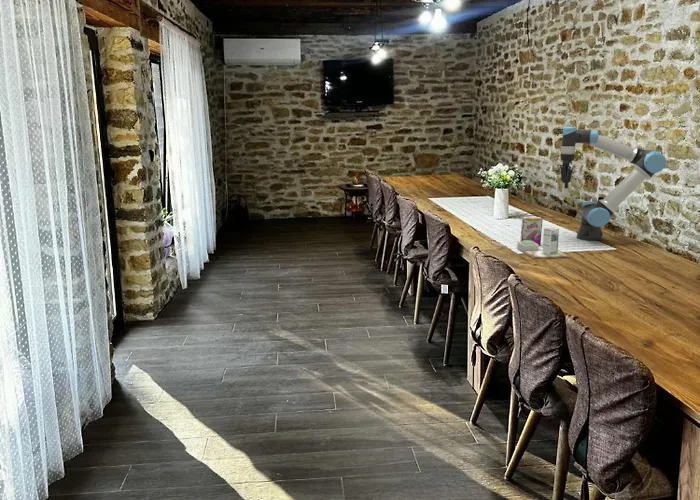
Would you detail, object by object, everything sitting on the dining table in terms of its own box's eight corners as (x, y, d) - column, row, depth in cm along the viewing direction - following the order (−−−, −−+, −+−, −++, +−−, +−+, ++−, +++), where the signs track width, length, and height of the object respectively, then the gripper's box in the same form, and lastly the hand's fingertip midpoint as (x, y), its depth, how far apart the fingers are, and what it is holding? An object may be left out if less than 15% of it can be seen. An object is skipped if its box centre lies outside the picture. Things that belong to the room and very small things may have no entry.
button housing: (532, 248, 352) (532, 241, 351) (538, 251, 343) (538, 244, 342) (517, 248, 351) (517, 241, 350) (522, 252, 342) (523, 245, 341)
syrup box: (549, 255, 331) (551, 229, 327) (541, 253, 336) (543, 227, 332) (557, 254, 333) (559, 228, 330) (549, 252, 338) (551, 226, 335)
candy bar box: (521, 245, 359) (523, 218, 355) (520, 243, 364) (521, 216, 360) (540, 245, 358) (542, 218, 354) (539, 243, 363) (541, 216, 359)
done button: (530, 246, 350) (531, 239, 349) (534, 249, 344) (535, 242, 343) (520, 247, 349) (521, 240, 349) (524, 249, 344) (525, 242, 343)
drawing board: (558, 251, 343) (558, 249, 343) (570, 258, 329) (570, 256, 328) (522, 252, 341) (522, 250, 341) (533, 259, 327) (533, 257, 327)
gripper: (556, 152, 361) (554, 192, 367) (566, 154, 349) (563, 195, 354) (569, 152, 362) (566, 192, 367) (579, 154, 349) (575, 195, 355)
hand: (564, 193), depth 361 cm, fingers closed
